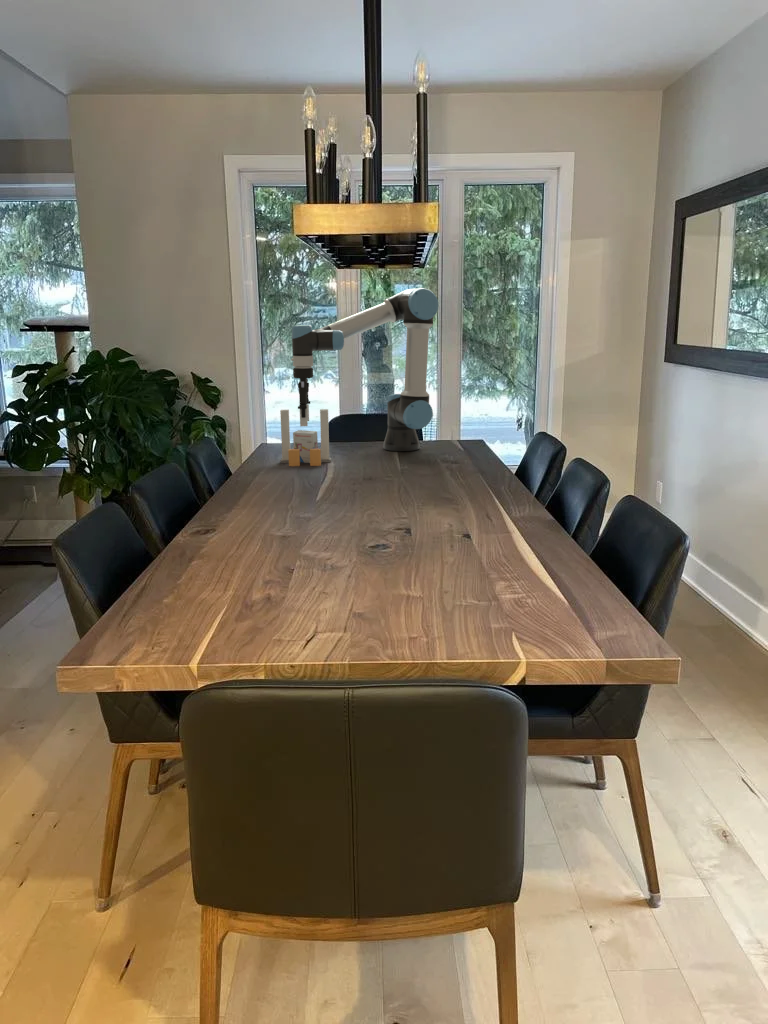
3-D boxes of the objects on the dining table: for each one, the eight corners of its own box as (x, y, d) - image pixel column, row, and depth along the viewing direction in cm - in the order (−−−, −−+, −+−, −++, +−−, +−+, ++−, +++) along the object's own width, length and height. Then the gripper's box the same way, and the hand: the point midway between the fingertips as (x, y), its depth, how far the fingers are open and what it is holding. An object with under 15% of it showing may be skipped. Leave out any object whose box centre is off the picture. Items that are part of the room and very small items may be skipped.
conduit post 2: (331, 460, 299) (330, 408, 294) (331, 462, 295) (329, 410, 289) (319, 460, 299) (318, 409, 294) (319, 462, 294) (318, 410, 289)
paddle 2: (321, 464, 291) (320, 448, 290) (320, 465, 288) (320, 449, 287) (310, 464, 291) (310, 448, 290) (310, 465, 288) (309, 450, 287)
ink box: (293, 462, 295) (292, 431, 292) (298, 459, 300) (297, 429, 297) (313, 463, 293) (312, 432, 290) (318, 461, 297) (317, 430, 294)
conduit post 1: (292, 460, 298) (290, 409, 293) (291, 462, 294) (290, 410, 289) (281, 460, 298) (279, 409, 293) (280, 463, 294) (278, 410, 289)
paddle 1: (300, 464, 291) (299, 448, 289) (299, 465, 288) (299, 450, 286) (289, 464, 291) (288, 449, 289) (288, 466, 288) (288, 450, 286)
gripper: (295, 365, 299) (296, 419, 304) (290, 369, 275) (292, 428, 280) (314, 364, 299) (315, 419, 305) (311, 369, 275) (313, 428, 281)
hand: (304, 423), depth 292 cm, fingers open, 13 cm apart
